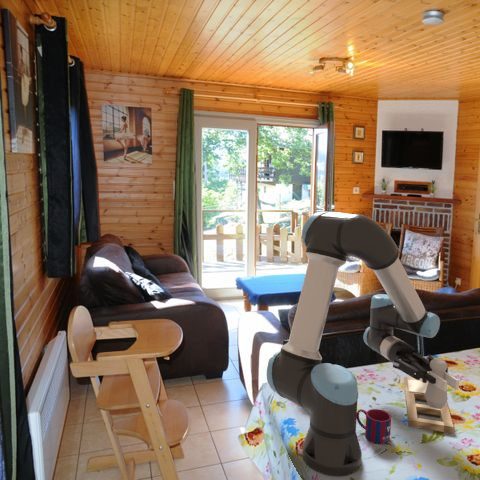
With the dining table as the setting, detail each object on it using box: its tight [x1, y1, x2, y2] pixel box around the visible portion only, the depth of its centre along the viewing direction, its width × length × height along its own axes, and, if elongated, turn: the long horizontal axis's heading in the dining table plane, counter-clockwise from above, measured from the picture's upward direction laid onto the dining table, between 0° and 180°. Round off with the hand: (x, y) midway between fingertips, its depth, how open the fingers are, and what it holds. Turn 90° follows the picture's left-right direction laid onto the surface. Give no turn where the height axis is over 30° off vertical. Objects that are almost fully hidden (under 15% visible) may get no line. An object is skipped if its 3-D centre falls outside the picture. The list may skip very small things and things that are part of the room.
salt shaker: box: [425, 358, 448, 409], centre depth 123 cm, size 6×6×13 cm
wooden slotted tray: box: [403, 376, 455, 434], centre depth 143 cm, size 12×30×2 cm, turn 162°
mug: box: [356, 408, 392, 445], centre depth 126 cm, size 7×10×7 cm
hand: (451, 385), depth 117 cm, fingers closed on salt shaker, 3 cm apart
